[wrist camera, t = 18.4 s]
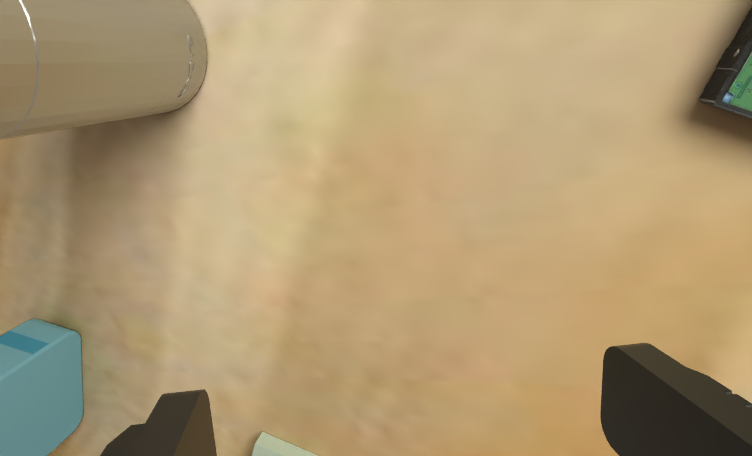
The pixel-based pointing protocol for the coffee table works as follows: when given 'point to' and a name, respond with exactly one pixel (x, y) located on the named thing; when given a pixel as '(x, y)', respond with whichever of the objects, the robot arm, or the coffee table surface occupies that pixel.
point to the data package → (39, 388)
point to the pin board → (276, 447)
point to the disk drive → (733, 75)
